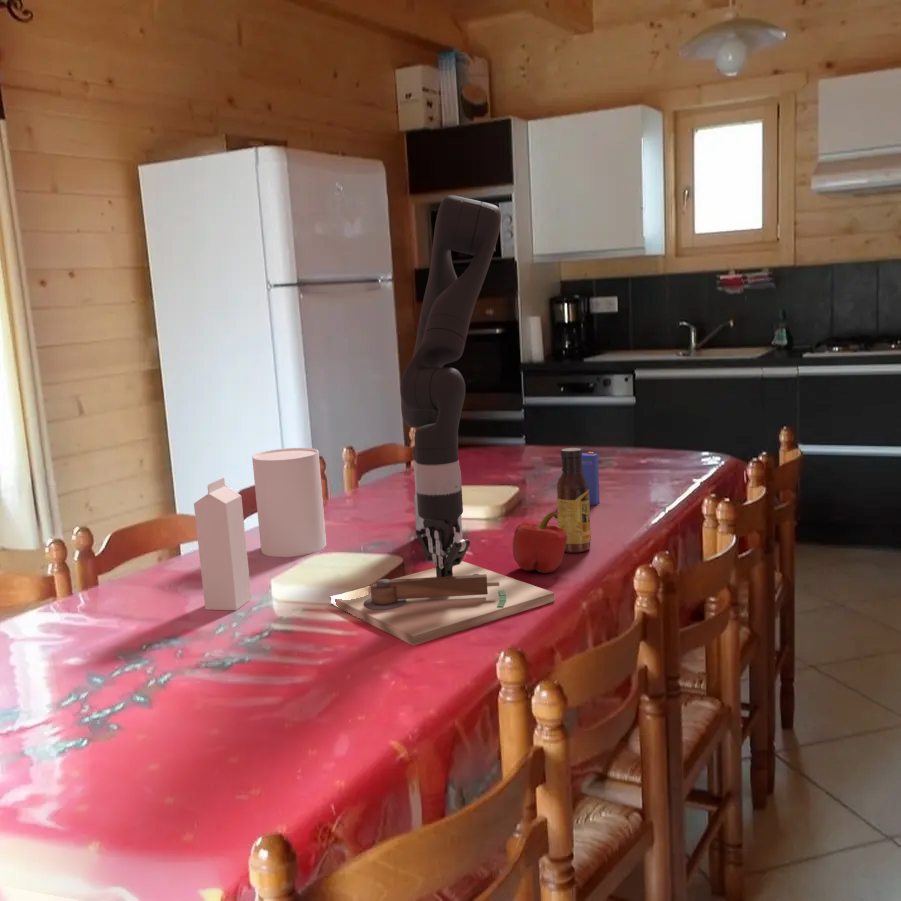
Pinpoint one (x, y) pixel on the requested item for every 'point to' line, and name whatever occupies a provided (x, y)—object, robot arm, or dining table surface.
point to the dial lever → (429, 588)
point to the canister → (289, 501)
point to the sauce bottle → (573, 502)
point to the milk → (222, 548)
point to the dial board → (448, 607)
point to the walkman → (591, 475)
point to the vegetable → (539, 545)
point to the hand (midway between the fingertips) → (445, 587)
